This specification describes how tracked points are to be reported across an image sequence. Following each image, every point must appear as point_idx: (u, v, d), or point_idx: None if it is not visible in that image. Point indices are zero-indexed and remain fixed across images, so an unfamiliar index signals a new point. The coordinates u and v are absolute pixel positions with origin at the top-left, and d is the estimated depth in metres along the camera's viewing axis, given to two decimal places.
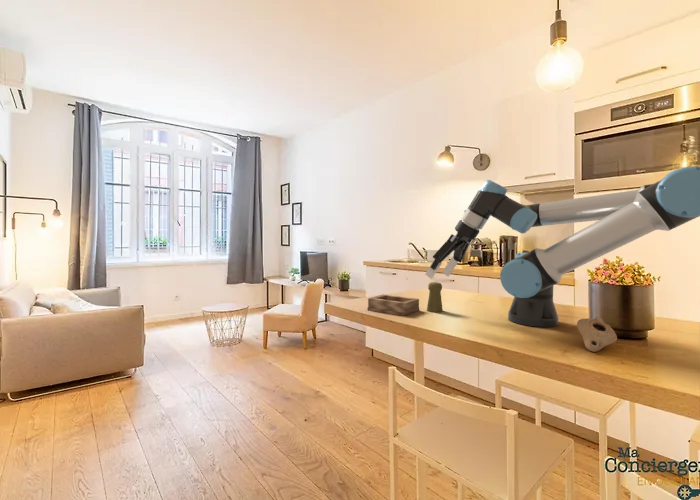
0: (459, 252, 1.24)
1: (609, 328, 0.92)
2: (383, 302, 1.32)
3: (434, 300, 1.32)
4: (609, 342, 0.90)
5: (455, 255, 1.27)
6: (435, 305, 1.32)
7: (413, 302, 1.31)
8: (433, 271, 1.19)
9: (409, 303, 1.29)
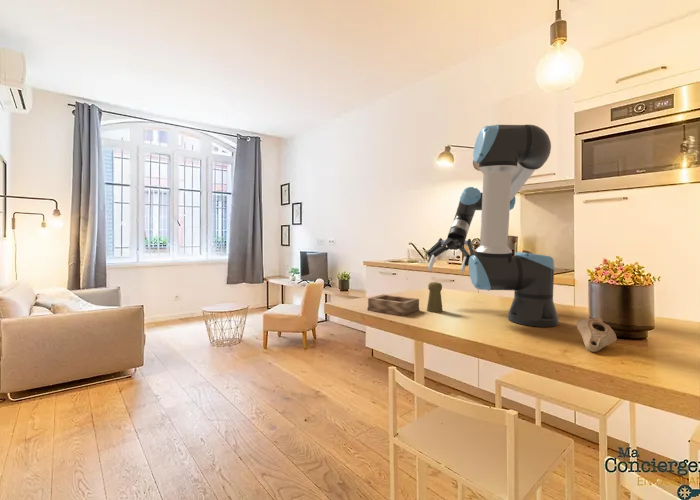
0: (461, 250, 1.45)
1: (609, 328, 0.92)
2: (383, 302, 1.32)
3: (434, 300, 1.32)
4: (609, 342, 0.90)
5: (465, 256, 1.43)
6: (435, 305, 1.32)
7: (413, 302, 1.31)
8: None
9: (409, 303, 1.29)
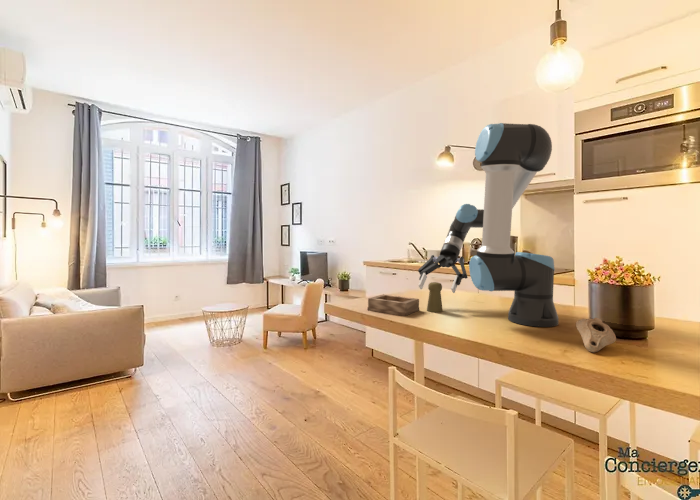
0: (453, 268, 1.40)
1: (608, 328, 0.91)
2: (383, 302, 1.32)
3: (434, 300, 1.32)
4: (608, 342, 0.89)
5: (457, 274, 1.38)
6: (435, 305, 1.32)
7: (413, 302, 1.31)
8: None
9: (409, 303, 1.29)
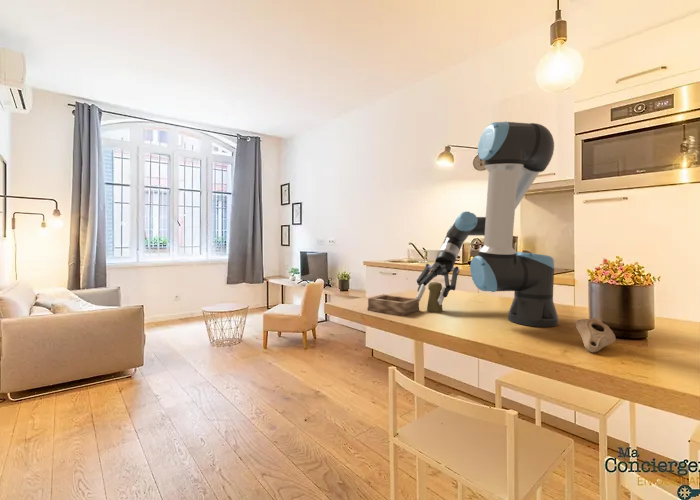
0: (444, 277, 1.37)
1: (608, 328, 0.91)
2: (383, 302, 1.32)
3: (434, 300, 1.32)
4: (608, 342, 0.89)
5: None
6: (435, 305, 1.32)
7: (413, 302, 1.31)
8: None
9: (409, 303, 1.29)
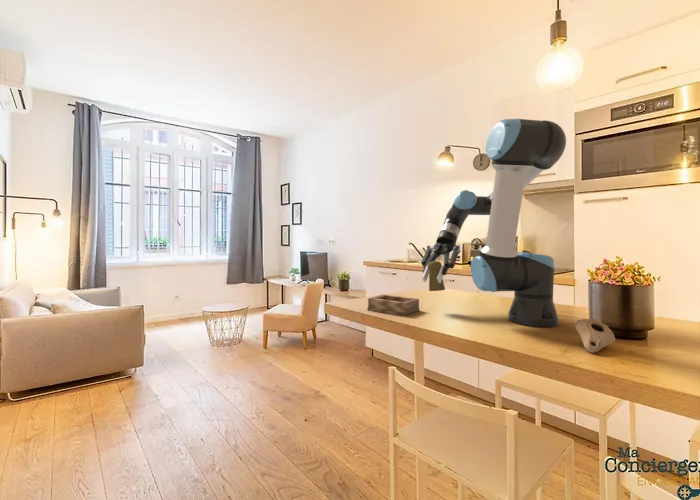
0: None
1: (607, 329, 0.91)
2: (383, 302, 1.32)
3: (435, 278, 1.31)
4: (608, 343, 0.89)
5: None
6: (437, 283, 1.31)
7: (413, 302, 1.31)
8: None
9: (409, 303, 1.29)
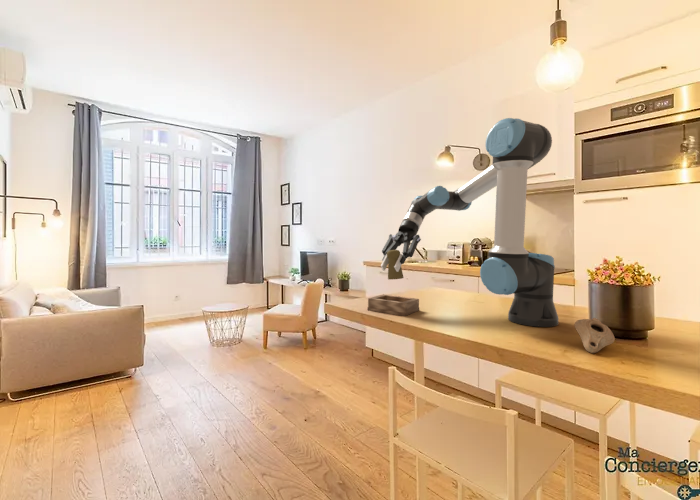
0: None
1: (607, 329, 0.91)
2: (383, 302, 1.32)
3: (393, 267, 1.32)
4: (607, 343, 0.89)
5: None
6: (395, 272, 1.32)
7: (413, 302, 1.31)
8: None
9: (409, 303, 1.29)
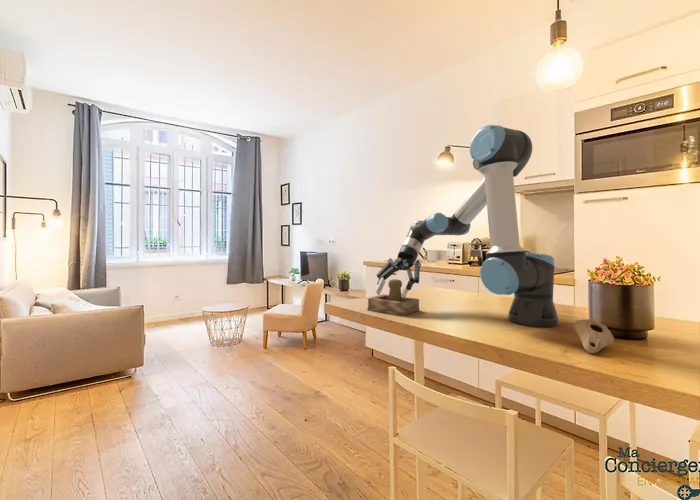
0: (407, 271, 1.36)
1: (606, 329, 0.91)
2: (383, 302, 1.32)
3: (393, 297, 1.32)
4: (607, 343, 0.89)
5: None
6: None
7: (413, 302, 1.31)
8: None
9: (409, 303, 1.29)
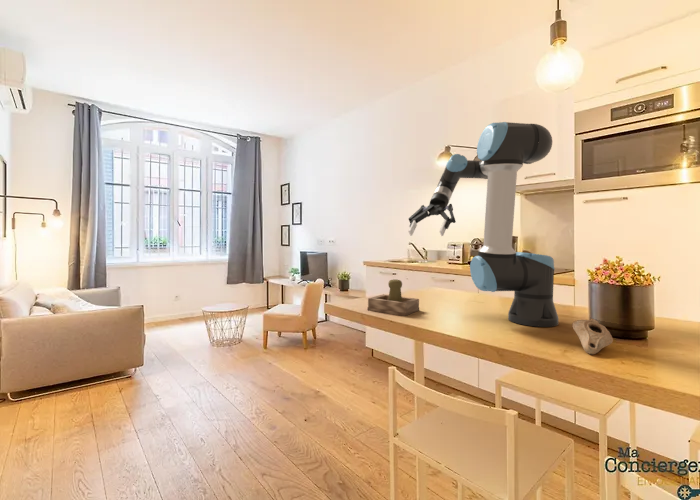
0: (442, 214, 1.45)
1: (605, 329, 0.90)
2: (383, 302, 1.32)
3: (393, 297, 1.32)
4: (606, 344, 0.88)
5: (445, 220, 1.43)
6: None
7: (413, 302, 1.31)
8: None
9: (409, 303, 1.29)
